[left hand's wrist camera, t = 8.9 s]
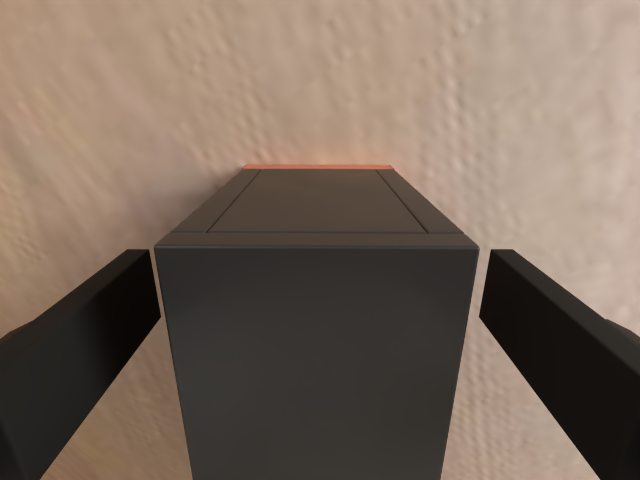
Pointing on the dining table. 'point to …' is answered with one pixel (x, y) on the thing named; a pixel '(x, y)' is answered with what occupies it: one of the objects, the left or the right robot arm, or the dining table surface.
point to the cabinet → (316, 325)
